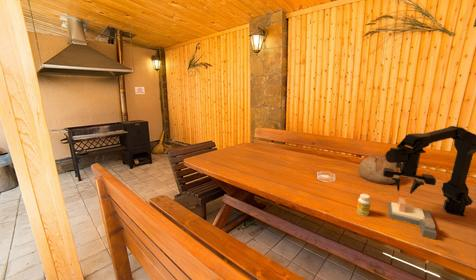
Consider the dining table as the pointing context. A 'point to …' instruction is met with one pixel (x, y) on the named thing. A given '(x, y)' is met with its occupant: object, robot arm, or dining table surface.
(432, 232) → the case
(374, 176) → the bread
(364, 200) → the supplement bottle
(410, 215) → the cover
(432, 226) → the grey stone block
